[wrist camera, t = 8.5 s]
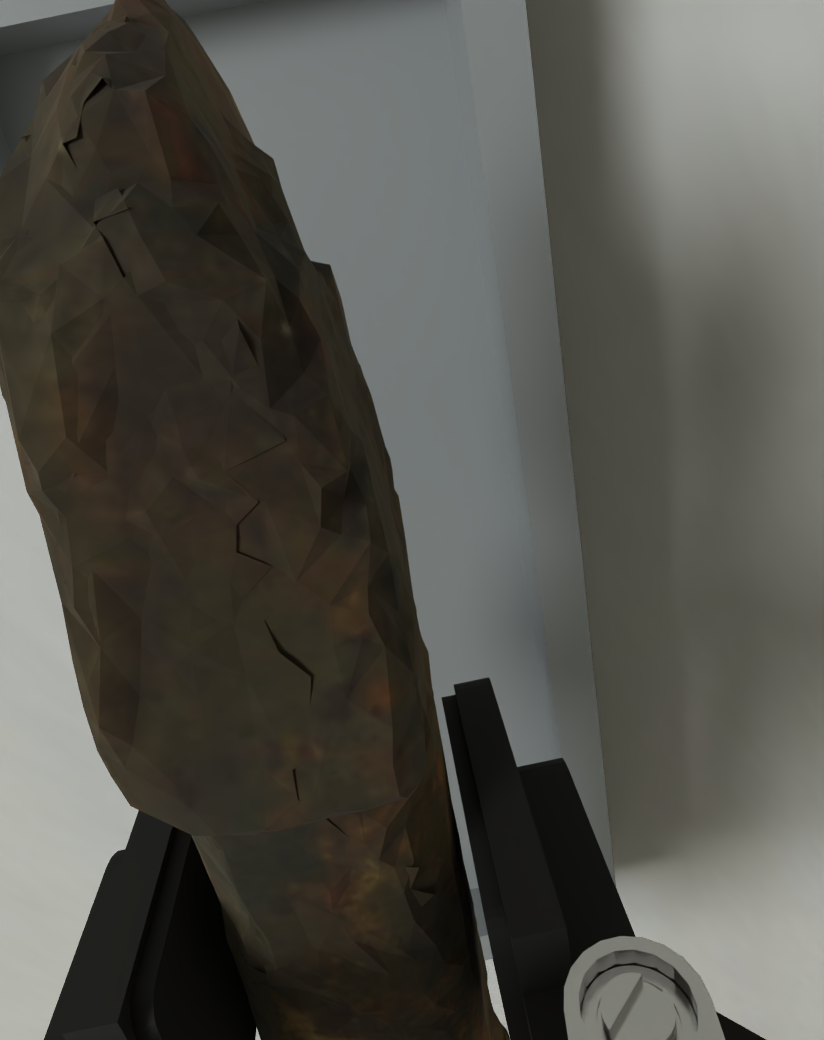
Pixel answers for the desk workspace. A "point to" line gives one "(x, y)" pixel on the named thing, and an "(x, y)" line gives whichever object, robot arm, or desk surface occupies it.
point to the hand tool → (231, 540)
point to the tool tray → (421, 314)
